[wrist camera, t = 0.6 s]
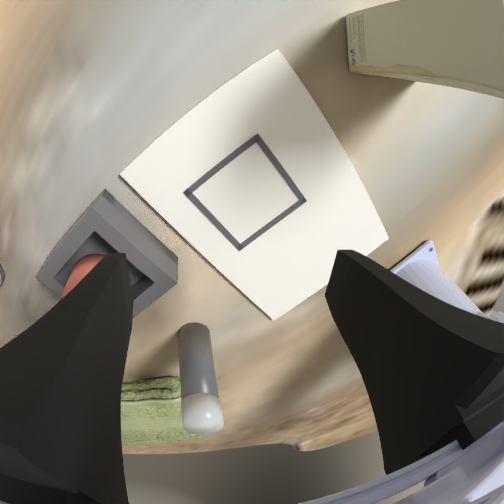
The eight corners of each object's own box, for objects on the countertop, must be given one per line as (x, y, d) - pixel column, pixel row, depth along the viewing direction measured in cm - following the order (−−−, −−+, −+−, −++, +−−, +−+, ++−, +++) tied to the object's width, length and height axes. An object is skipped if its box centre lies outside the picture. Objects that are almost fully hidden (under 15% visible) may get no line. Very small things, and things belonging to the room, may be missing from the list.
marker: (216, 333, 26) (232, 425, 18) (193, 348, 26) (202, 437, 19) (194, 317, 24) (203, 414, 17) (171, 333, 25) (174, 427, 17)
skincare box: (346, 72, 16) (507, 98, 6) (343, 11, 14) (498, -16, 4) (419, 82, 17) (561, 123, 7) (417, 28, 14) (561, 39, 4)
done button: (143, 282, 18) (140, 308, 16) (107, 313, 19) (101, 339, 17) (95, 241, 16) (84, 264, 14) (62, 278, 17) (50, 303, 15)
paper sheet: (386, 236, 24) (389, 238, 23) (272, 318, 26) (273, 320, 26) (276, 49, 15) (277, 48, 14) (120, 172, 17) (119, 174, 17)
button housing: (177, 257, 21) (177, 283, 18) (117, 307, 22) (111, 334, 20) (105, 188, 17) (92, 207, 15) (49, 253, 19) (35, 277, 16)
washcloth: (49, 381, 27) (44, 403, 24) (189, 366, 28) (191, 392, 26) (100, 431, 34) (99, 449, 31) (217, 420, 35) (220, 440, 33)
